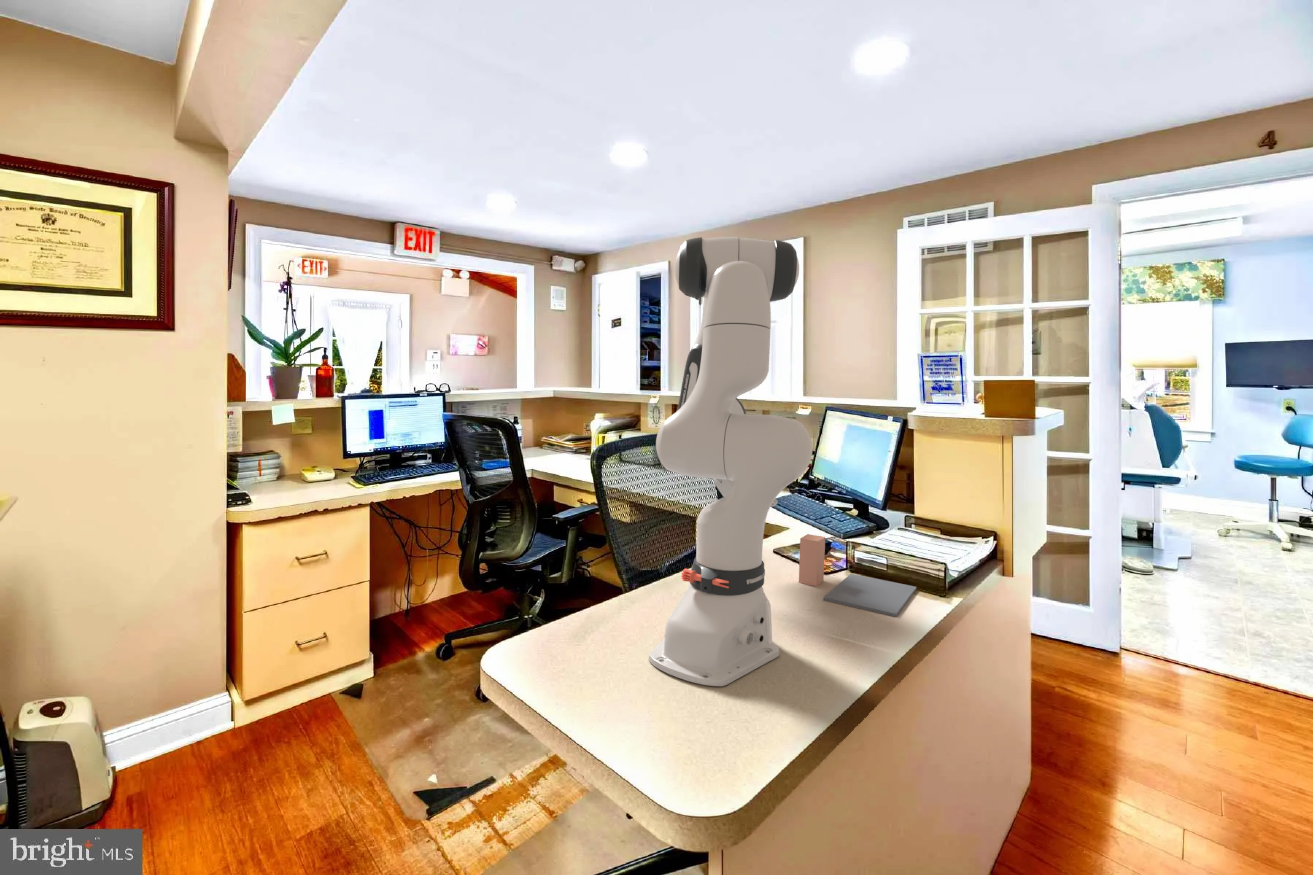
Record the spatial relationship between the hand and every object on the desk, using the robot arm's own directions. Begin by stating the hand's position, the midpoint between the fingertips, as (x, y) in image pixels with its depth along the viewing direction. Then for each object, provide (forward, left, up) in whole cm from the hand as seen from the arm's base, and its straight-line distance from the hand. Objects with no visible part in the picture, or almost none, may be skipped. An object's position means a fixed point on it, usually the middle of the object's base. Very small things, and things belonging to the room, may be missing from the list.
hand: (766, 508), depth 132 cm
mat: (0, -24, -15) cm, 29 cm away
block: (0, -11, -15) cm, 19 cm away
